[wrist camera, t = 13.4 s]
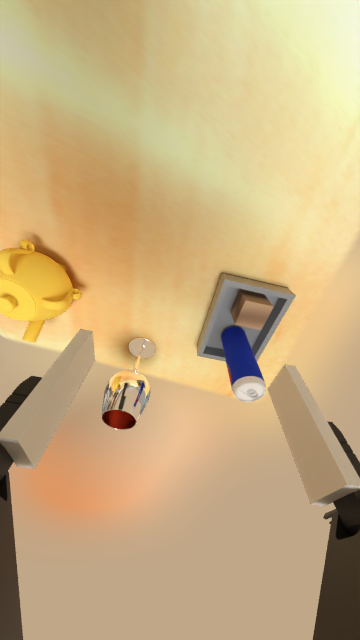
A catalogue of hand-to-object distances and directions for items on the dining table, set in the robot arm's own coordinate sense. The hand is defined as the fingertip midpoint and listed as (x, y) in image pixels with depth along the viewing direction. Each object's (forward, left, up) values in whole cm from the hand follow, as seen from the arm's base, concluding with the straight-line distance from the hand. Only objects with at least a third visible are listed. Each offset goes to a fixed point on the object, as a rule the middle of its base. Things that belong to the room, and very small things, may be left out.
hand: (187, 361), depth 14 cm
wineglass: (+23, -6, -26) cm, 35 cm away
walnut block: (+5, +13, -25) cm, 29 cm away
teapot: (+11, -27, -26) cm, 39 cm away
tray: (+10, +13, -26) cm, 31 cm away
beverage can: (+13, +13, -25) cm, 32 cm away
